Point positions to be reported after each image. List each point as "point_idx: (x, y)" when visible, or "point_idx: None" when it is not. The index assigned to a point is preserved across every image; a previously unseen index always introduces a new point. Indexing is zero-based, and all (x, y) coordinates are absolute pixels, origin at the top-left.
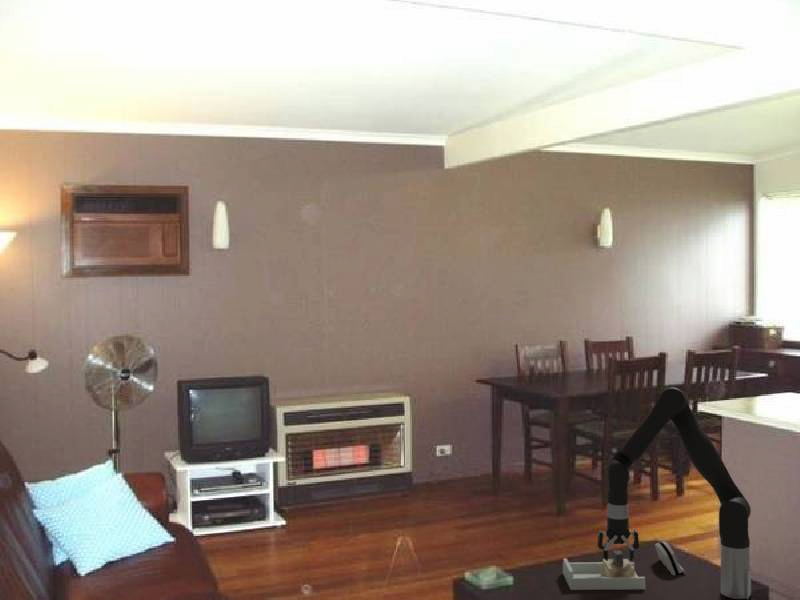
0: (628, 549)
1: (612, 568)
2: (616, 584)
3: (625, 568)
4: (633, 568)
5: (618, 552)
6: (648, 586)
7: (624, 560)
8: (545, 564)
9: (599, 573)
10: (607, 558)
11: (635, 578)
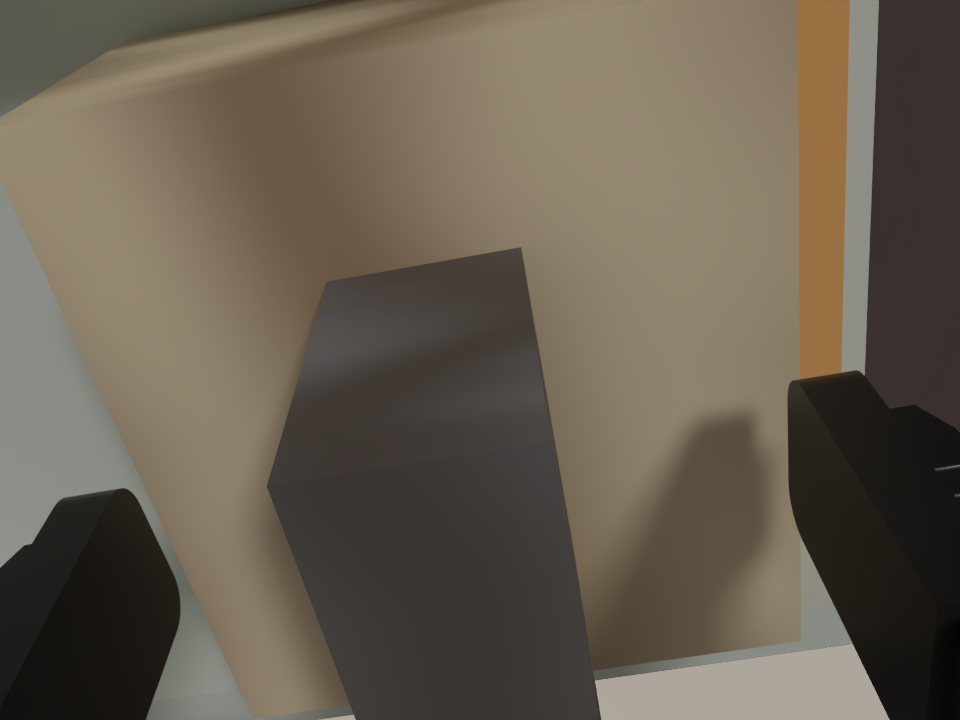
0: (922, 576)
1: (329, 701)
2: None
3: (605, 664)
4: (780, 640)
5: (475, 651)
6: (929, 389)
7: (664, 159)
8: None
9: (60, 64)
10: (152, 663)
11: (740, 654)
